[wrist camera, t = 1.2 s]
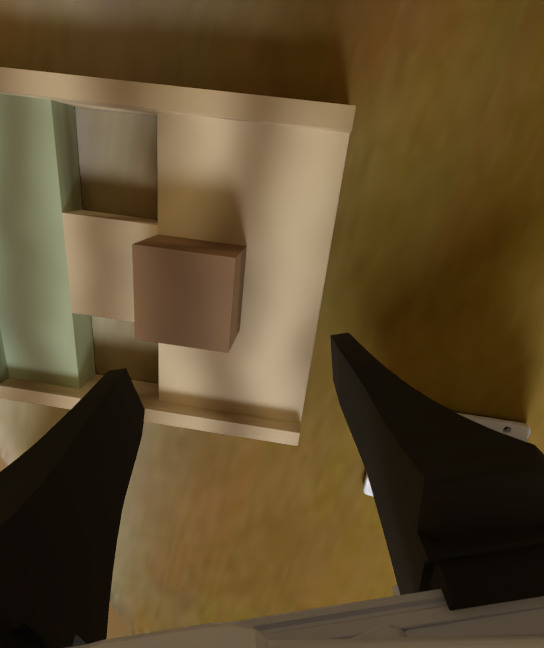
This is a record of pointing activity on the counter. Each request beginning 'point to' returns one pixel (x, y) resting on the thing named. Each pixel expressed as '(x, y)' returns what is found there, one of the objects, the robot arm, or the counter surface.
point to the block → (188, 291)
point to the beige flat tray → (173, 220)
